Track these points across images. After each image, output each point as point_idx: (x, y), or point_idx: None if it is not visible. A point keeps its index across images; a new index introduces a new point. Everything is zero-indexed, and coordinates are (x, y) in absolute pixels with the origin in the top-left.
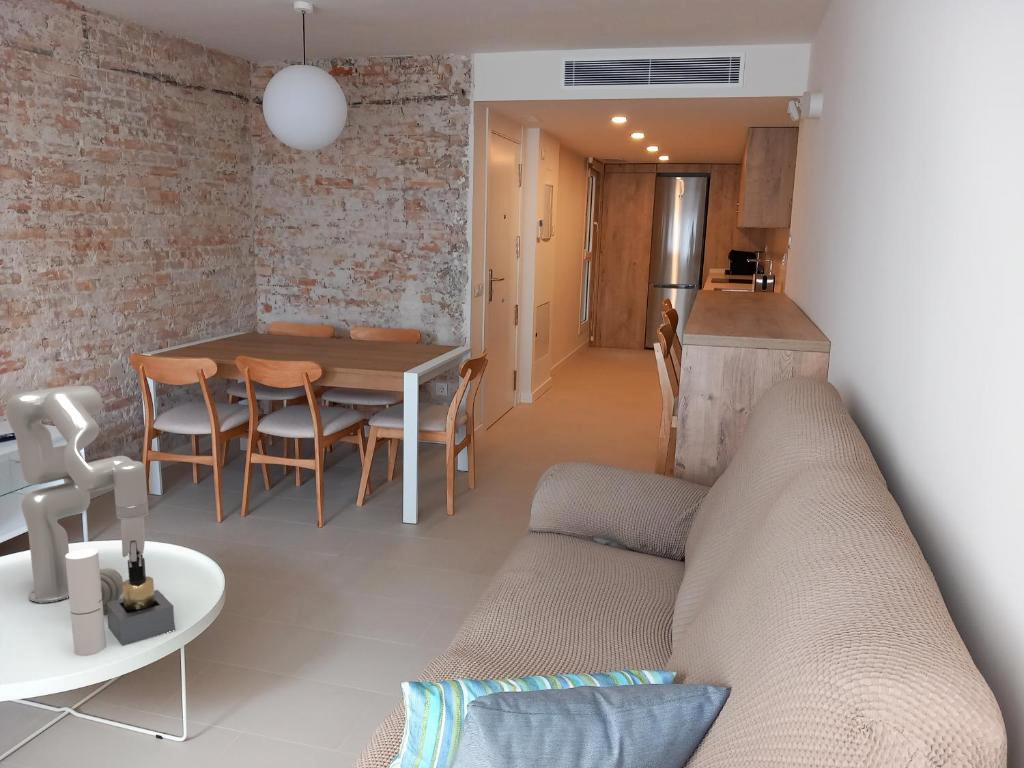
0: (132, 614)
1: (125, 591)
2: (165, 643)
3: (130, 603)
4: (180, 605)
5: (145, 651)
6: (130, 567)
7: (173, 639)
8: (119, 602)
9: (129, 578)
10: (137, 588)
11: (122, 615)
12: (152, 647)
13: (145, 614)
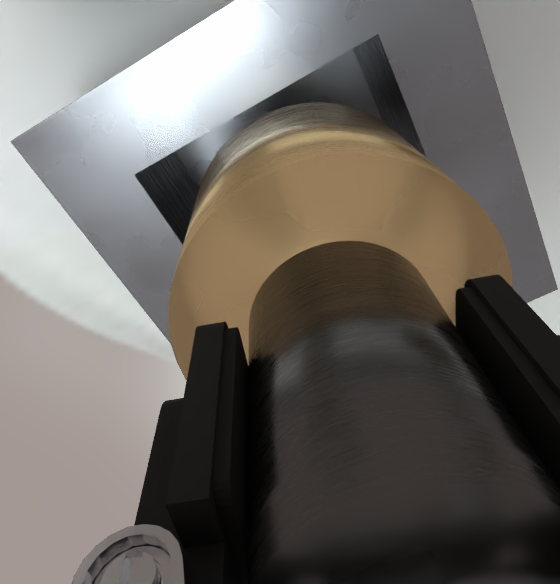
0: (116, 216)
1: (207, 203)
2: (105, 320)
3: (194, 205)
4: (549, 300)
5: (16, 248)
6: (105, 552)
7: (146, 344)
8: (396, 34)
9: (295, 297)
10: (178, 349)
11: (98, 141)
12: (62, 271)
13: (139, 294)
